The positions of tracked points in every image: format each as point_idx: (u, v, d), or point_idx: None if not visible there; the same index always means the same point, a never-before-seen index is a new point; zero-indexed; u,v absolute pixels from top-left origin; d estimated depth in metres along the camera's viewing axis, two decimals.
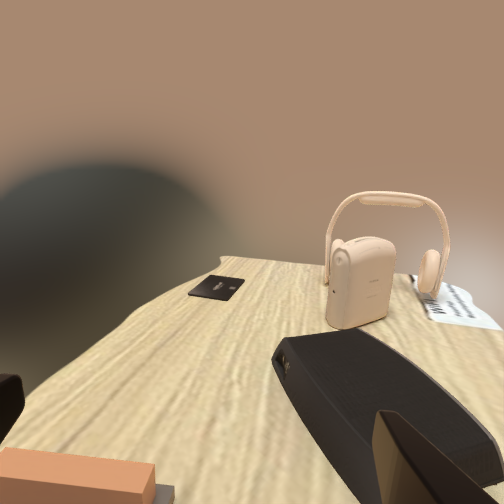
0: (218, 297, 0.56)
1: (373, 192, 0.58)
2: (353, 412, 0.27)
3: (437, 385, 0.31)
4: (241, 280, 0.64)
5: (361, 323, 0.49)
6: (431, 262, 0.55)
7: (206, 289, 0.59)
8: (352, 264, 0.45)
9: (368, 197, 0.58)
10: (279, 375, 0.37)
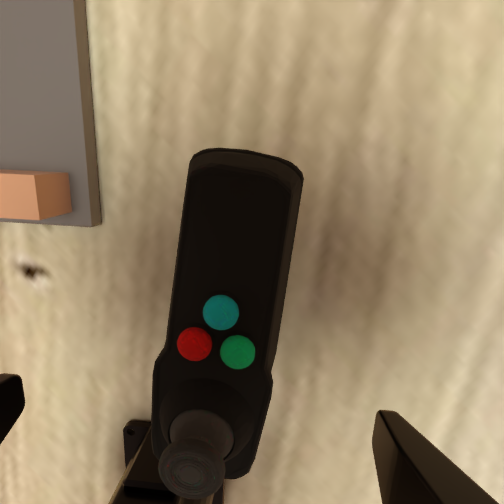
0: None
1: None
2: None
3: None
4: None
5: None
6: None
7: None
8: None
9: None
10: None
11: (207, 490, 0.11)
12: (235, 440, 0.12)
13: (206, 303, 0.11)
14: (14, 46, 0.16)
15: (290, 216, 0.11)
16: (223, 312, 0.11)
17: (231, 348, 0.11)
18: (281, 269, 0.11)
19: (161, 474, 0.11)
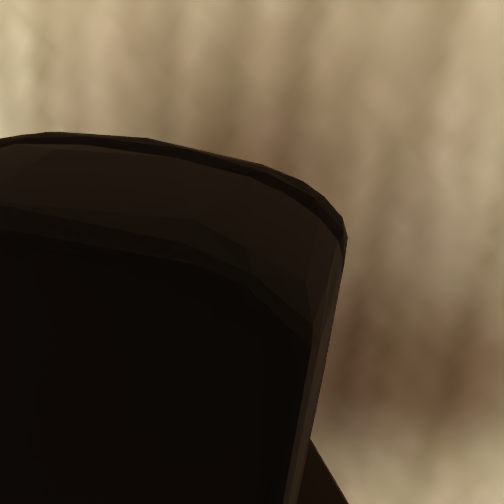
0: None
1: None
2: None
3: None
4: None
5: None
6: None
7: None
8: None
9: None
10: None
11: None
12: None
13: None
14: None
15: (305, 417, 0.03)
16: None
17: None
18: None
19: None
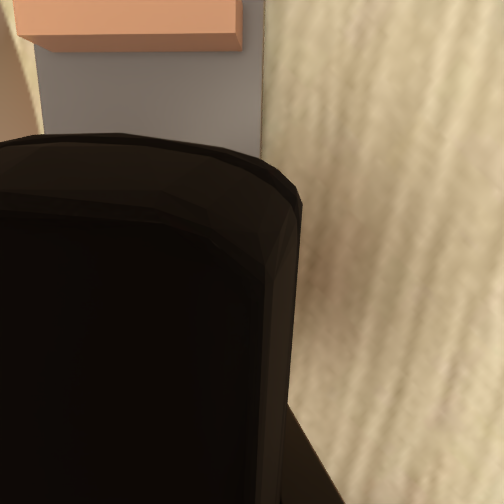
0: None
1: None
2: None
3: None
4: None
5: None
6: None
7: None
8: None
9: None
10: None
11: None
12: None
13: None
14: None
15: (271, 348, 0.03)
16: None
17: None
18: None
19: None
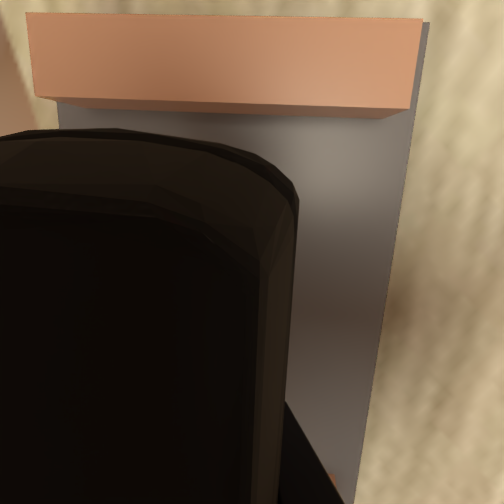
0: None
1: None
2: None
3: None
4: None
5: None
6: None
7: None
8: None
9: None
10: None
11: None
12: None
13: None
14: (297, 355, 0.14)
15: (267, 344, 0.03)
16: None
17: None
18: (255, 503, 0.03)
19: None
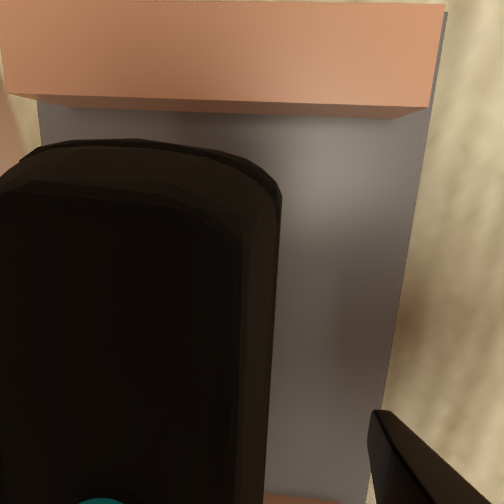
0: None
1: None
2: None
3: None
4: None
5: None
6: None
7: None
8: None
9: None
10: None
11: None
12: None
13: None
14: (300, 376, 0.13)
15: (250, 305, 0.04)
16: None
17: None
18: (242, 434, 0.04)
19: None
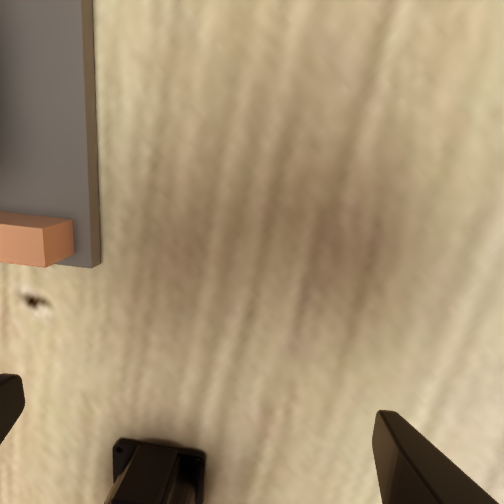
0: None
1: None
2: None
3: None
4: None
5: None
6: None
7: None
8: None
9: None
10: None
11: None
12: None
13: None
14: (28, 107, 0.18)
15: None
16: None
17: None
18: None
19: None
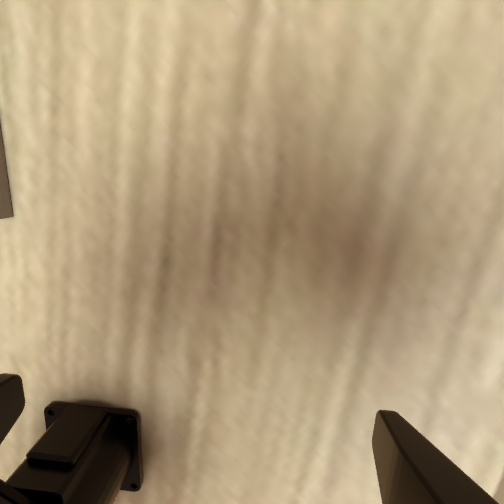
0: None
1: None
2: None
3: None
4: None
5: None
6: None
7: None
8: None
9: None
10: None
11: None
12: None
13: None
14: None
15: None
16: None
17: None
18: None
19: None
